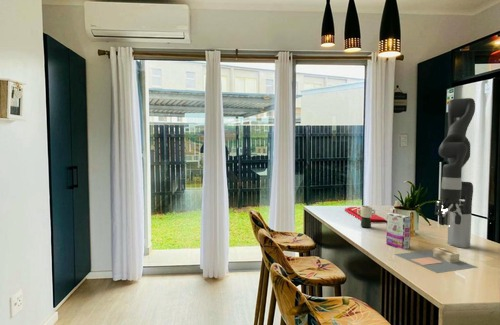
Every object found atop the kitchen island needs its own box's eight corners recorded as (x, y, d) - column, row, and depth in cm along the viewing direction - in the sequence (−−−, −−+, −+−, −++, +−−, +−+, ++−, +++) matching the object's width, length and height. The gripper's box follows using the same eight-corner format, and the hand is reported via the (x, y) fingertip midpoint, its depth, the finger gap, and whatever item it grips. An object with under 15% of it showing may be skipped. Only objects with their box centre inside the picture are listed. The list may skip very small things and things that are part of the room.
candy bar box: (410, 249, 167) (411, 216, 166) (403, 250, 165) (404, 217, 164) (392, 243, 177) (393, 212, 176) (385, 244, 175) (386, 213, 174)
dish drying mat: (364, 223, 222) (364, 218, 222) (343, 211, 263) (344, 206, 263) (387, 223, 223) (387, 218, 223) (363, 211, 264) (363, 206, 264)
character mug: (373, 226, 214) (374, 205, 213) (376, 228, 207) (376, 208, 206) (355, 225, 215) (356, 205, 214) (357, 228, 208) (358, 207, 207)
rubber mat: (394, 255, 157) (394, 253, 157) (430, 251, 163) (430, 249, 163) (437, 274, 134) (437, 272, 134) (477, 268, 141) (477, 266, 141)
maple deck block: (433, 256, 154) (433, 248, 154) (441, 255, 156) (441, 247, 156) (450, 262, 146) (450, 254, 146) (459, 261, 147) (459, 253, 147)
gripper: (456, 186, 152) (455, 222, 152) (431, 187, 148) (429, 223, 149) (471, 188, 145) (470, 225, 145) (445, 189, 141) (443, 227, 141)
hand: (449, 224), depth 147 cm, fingers open, 8 cm apart
